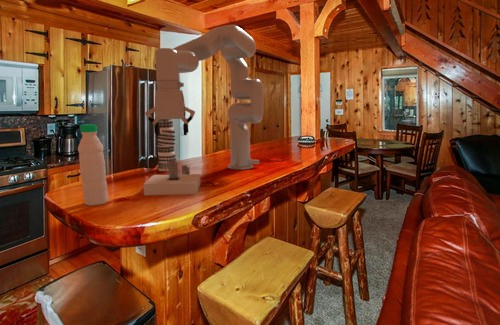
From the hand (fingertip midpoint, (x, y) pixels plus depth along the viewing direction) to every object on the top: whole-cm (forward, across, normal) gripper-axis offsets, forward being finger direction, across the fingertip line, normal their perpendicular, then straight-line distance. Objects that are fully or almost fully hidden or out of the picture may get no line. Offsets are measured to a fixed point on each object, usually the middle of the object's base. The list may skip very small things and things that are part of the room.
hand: (171, 135), depth 108 cm
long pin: (+20, 0, +1) cm, 20 cm away
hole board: (+20, 0, +1) cm, 20 cm away
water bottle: (+20, +22, +15) cm, 33 cm away
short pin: (+20, -2, -16) cm, 26 cm away
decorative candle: (+21, +10, -36) cm, 43 cm away
